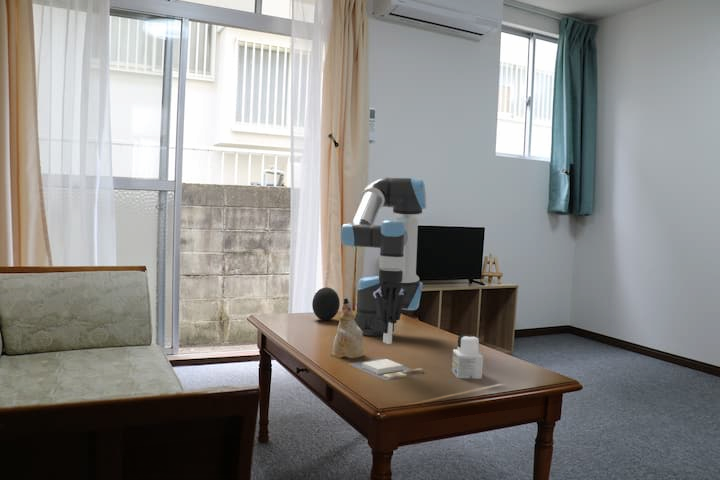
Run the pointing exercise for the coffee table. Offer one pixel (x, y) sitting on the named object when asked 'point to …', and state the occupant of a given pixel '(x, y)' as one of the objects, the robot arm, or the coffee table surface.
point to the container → (467, 358)
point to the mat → (359, 366)
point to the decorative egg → (325, 303)
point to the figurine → (348, 335)
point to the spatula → (403, 373)
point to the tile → (382, 366)
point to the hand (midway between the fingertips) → (387, 342)
